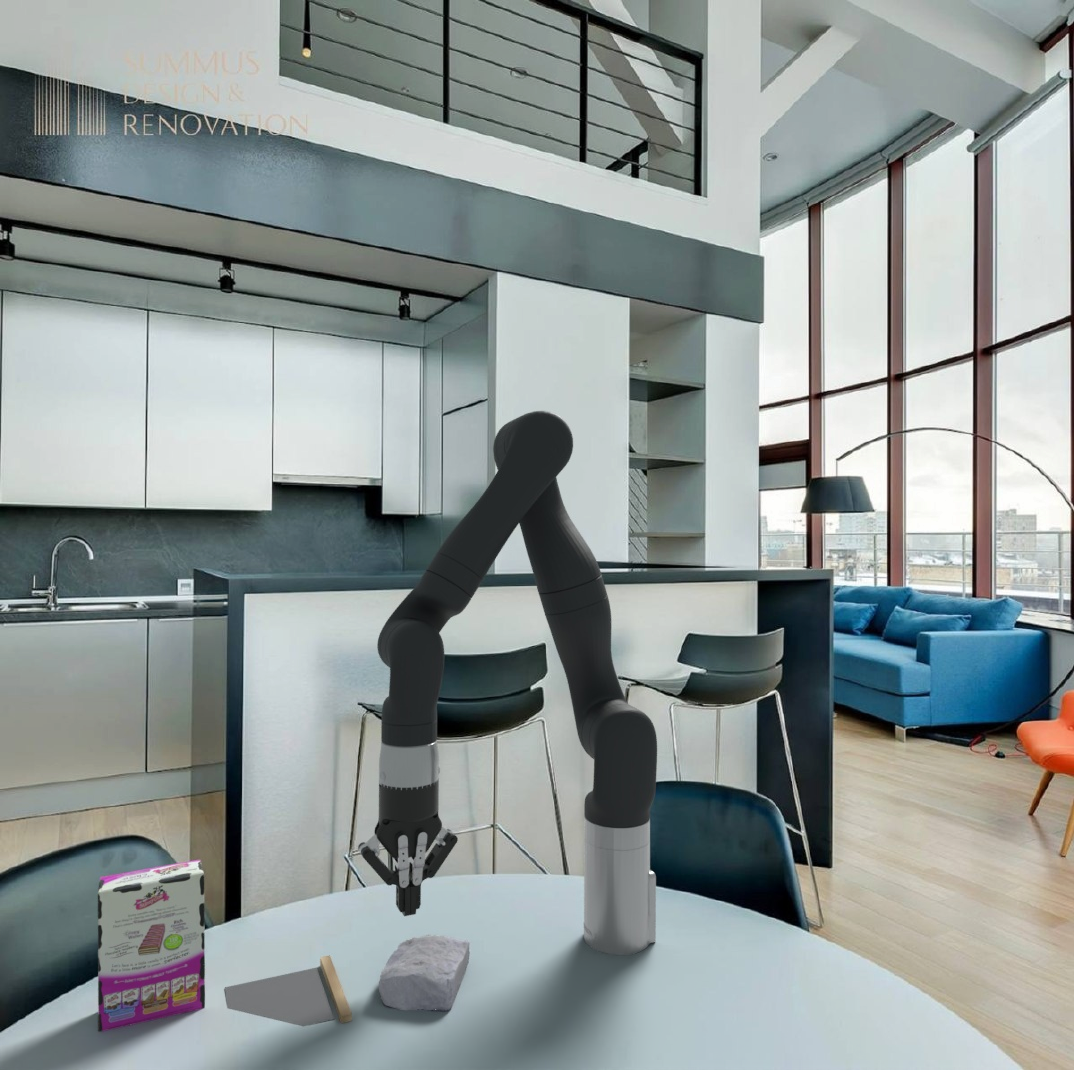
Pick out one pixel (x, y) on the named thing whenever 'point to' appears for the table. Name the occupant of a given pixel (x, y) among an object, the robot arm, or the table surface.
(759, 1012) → the table surface
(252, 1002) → the mat
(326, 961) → the strip
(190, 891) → the candy bar box
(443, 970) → the stone block
